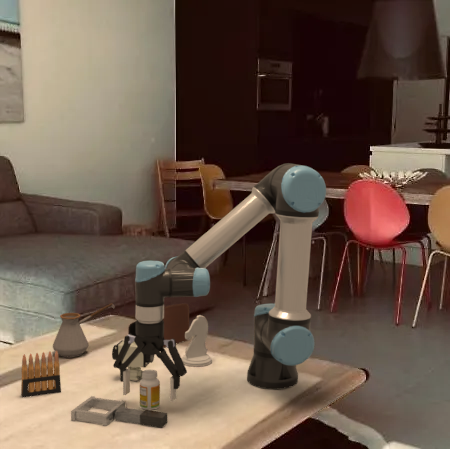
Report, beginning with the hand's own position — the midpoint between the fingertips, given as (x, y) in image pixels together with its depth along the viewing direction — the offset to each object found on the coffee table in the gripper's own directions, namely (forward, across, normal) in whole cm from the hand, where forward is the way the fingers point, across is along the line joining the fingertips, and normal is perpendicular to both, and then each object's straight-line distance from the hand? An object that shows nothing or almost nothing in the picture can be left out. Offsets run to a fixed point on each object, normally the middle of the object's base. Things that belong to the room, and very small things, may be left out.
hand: (149, 396), depth 202 cm
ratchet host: (+3, +3, +10) cm, 11 cm away
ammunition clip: (+3, +32, +2) cm, 32 cm away
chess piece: (+3, +1, -39) cm, 39 cm away
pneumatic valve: (+3, +13, -18) cm, 22 cm away
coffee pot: (+3, +39, -36) cm, 53 cm away
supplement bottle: (+3, 0, 0) cm, 3 cm away
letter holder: (+3, +20, -53) cm, 56 cm away
